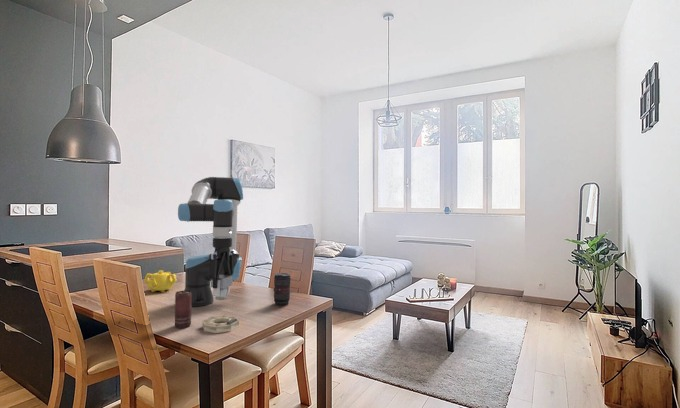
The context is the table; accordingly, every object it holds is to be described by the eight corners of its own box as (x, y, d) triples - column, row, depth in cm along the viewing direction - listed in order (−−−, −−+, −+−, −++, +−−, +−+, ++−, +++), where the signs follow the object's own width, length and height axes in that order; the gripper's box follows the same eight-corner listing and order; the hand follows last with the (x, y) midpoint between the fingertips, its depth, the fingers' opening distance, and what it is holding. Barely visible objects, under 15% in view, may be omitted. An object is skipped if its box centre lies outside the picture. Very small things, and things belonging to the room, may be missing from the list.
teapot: (167, 295, 191) (167, 274, 191) (134, 294, 192) (134, 273, 191) (184, 286, 211) (184, 267, 211) (154, 286, 212) (154, 267, 211)
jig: (195, 330, 143) (196, 322, 143) (216, 319, 156) (216, 312, 156) (225, 334, 139) (225, 326, 139) (244, 323, 152) (244, 315, 152)
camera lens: (286, 307, 176) (287, 276, 176) (271, 305, 178) (271, 275, 178) (292, 302, 184) (292, 273, 184) (277, 301, 186) (277, 272, 186)
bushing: (210, 299, 145) (210, 277, 145) (219, 296, 151) (219, 274, 151) (223, 301, 143) (223, 278, 143) (231, 297, 149) (232, 275, 149)
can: (177, 323, 150) (177, 289, 150) (192, 323, 150) (193, 289, 150) (171, 328, 144) (172, 293, 143) (188, 328, 144) (188, 293, 144)
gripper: (216, 239, 137) (214, 300, 137) (243, 235, 155) (242, 289, 155) (199, 238, 139) (198, 298, 139) (228, 235, 157) (227, 288, 157)
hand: (221, 293), depth 147 cm, fingers closed on bushing, 6 cm apart
